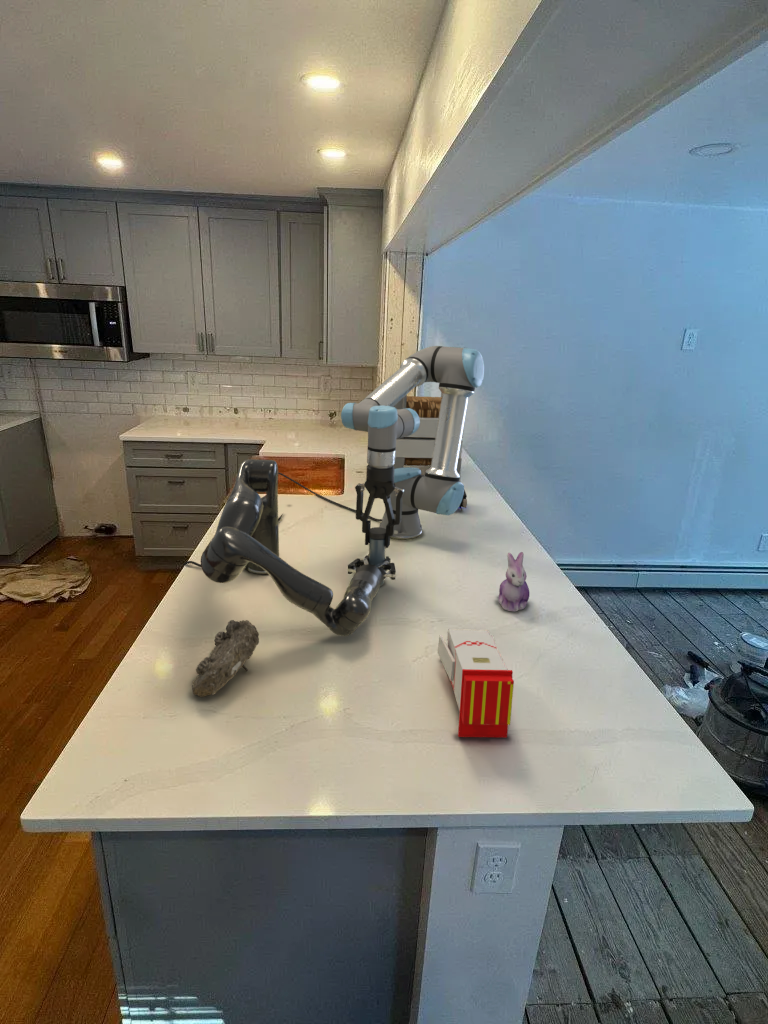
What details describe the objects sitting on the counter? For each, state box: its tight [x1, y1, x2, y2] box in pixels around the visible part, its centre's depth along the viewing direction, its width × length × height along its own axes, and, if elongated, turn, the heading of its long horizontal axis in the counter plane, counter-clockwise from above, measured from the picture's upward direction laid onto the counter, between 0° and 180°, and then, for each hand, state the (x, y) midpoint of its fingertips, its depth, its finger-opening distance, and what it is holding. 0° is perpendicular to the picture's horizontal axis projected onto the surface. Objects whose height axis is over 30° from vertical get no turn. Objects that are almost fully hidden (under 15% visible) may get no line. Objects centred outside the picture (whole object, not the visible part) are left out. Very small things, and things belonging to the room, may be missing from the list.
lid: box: [368, 526, 386, 539], centre depth 159 cm, size 5×5×2 cm
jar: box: [368, 537, 387, 587], centre depth 161 cm, size 5×5×16 cm
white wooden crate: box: [393, 391, 465, 482], centre depth 268 cm, size 34×33×41 cm
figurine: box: [497, 551, 530, 612], centre depth 152 cm, size 9×10×15 cm
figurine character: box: [457, 489, 468, 512], centre depth 228 cm, size 7×8×15 cm
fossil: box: [191, 619, 260, 698], centre depth 121 cm, size 22×10×15 cm
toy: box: [437, 628, 515, 738], centre depth 117 cm, size 12×13×30 cm
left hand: (378, 558), depth 164 cm, fingers closed on jar, 4 cm apart
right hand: (377, 544), depth 160 cm, fingers closed on lid, 5 cm apart
